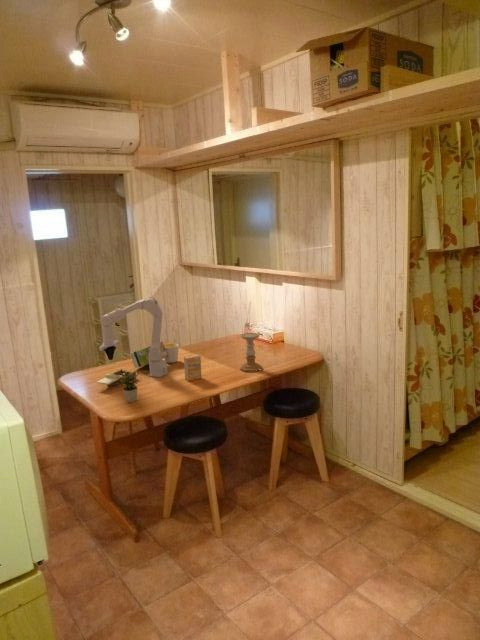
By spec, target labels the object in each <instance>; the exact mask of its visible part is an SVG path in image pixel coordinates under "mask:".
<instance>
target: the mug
mask: <svg viewBox="0 0 480 640" xmlns="http://www.w3.org/2000/svg"><path fill="white" fill-rule="evenodd" d="M163 344H164V343H163ZM164 347H165V350H166V352H167V355H168V357H165V358H164V360H165V361H166V363H168V364H172V363H176V362H177V361H178V359H179V350H180V348H179V347H180V346H179V344H178V343H174V342H173V343H171V342H170V343H165V344H164Z"/></svg>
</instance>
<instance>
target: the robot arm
mask: <svg viewBox="0 0 480 640" xmlns="http://www.w3.org/2000/svg"><path fill="white" fill-rule="evenodd" d="M136 310H141V311H143V310H145V311H146V312H149V313H150V315H152V316H153V321H152V322H153V323H152V335H151V349H150V352H149V354H148V357H149V364H148V365H149V366H148V367H149V368H148V369H149V373H148V374H146V376H149V377H155V378H156V377H157V378H162V377H164V376H165V375H167V374H169V372H168V366H167V365H168V364H167V362H166V361H165V359H162V357H161V356H160V353H161V349H160V342H161V334H162V322H163V310H162V308H161V306H160V304H159V302H158V300H157V299H155V298H154V297H152V296H147V297H146V298H142V299H140V300H137V301H136V302H134V303H132V304H130V305H127V306H126V307H124V308H120V307H119V308H116V307H115V309H114V310H112V311H111V312H107V313H105V314H104V315H103V316H102V317H101V318H100V323H101V327H102V329H101V330H102V341H103V343H102V344H101V345H100V346H99V347H98V349H99V350H98V351H99V352H101V351H104V352H105V354H106V356H107V358H108V360H110V361H112V360H113V359H114V354H115V350H116V349H117V346H116V345H119V344H120V340H119V339H117V340H116V339H115V337H114V327H113V323H115V322H117V321H120V320H122V319H124V318H125V316H126V315H127V314H129V313H132V312H134V311H136Z"/></svg>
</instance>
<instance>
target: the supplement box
mask: <svg viewBox="0 0 480 640" xmlns="http://www.w3.org/2000/svg"><path fill="white" fill-rule="evenodd" d="M201 357H202V356H201V355H199V353H197V354H193V355H192V354H191V355H186V356H183V363H184V364H183V366H184V368H183V369H184V379H185V380H186V381H187V382H190V381H195V379H196V380H199V378H201V379H202V377H203V375H202V359H201Z"/></svg>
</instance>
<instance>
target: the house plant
mask: <svg viewBox="0 0 480 640" xmlns="http://www.w3.org/2000/svg"><path fill="white" fill-rule="evenodd" d="M117 371H119V369H116V372H117ZM123 371H125V376H126V377H124V375H123V374H122V373H121V372H120V371H119V372H120V373H121V374H122V376H123V377H124V378H123V377H122V378H123V379H124V380H121V382H123V383H124V384H125V385H123V384H120V385H119V386H118V388H120V387H122V386H121V385H123V388H122V390H123V391H122V392H123V394H124V395H123V396H124V399H125V401H126V402H127V403H132V402H133V403H134V402H135V401H137V398H138V386H136V385H137V384H138V383H141V380H139V379H137V377H138V375H140V373H141V372H142V371H143V370H141V371H139V372H138V373H136V375H135V372H134V371H133V372H134V374H133V377H132V378H131V381H130V378H129V376H130V373H131V372H132V371H131V370H129V371H128V372H130V373H129V375H128V373H127V372H126V371H127V370H125V369H123ZM134 375H135V376H134ZM115 377H118V376H115ZM134 377H135V378H136V379H135V378H134Z"/></svg>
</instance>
